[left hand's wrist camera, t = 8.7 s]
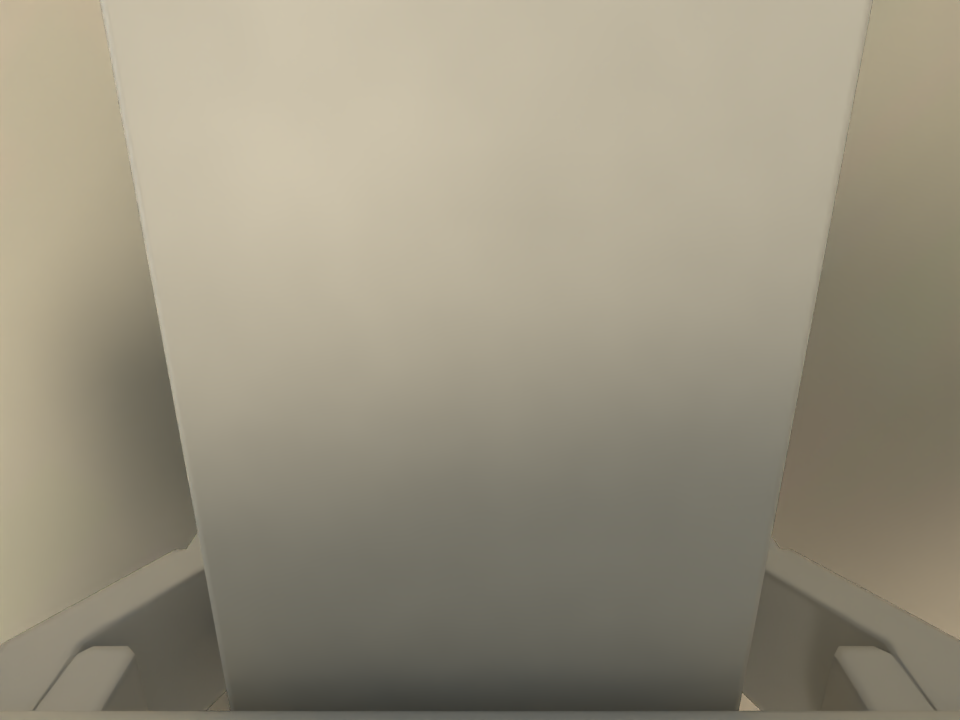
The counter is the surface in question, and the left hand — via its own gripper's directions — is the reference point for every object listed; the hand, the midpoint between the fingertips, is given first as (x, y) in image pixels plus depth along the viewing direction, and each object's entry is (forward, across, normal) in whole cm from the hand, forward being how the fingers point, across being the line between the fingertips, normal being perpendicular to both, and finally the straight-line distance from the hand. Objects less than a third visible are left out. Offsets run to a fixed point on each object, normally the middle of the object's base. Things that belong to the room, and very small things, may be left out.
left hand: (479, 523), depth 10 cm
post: (+3, 0, -35) cm, 35 cm away
